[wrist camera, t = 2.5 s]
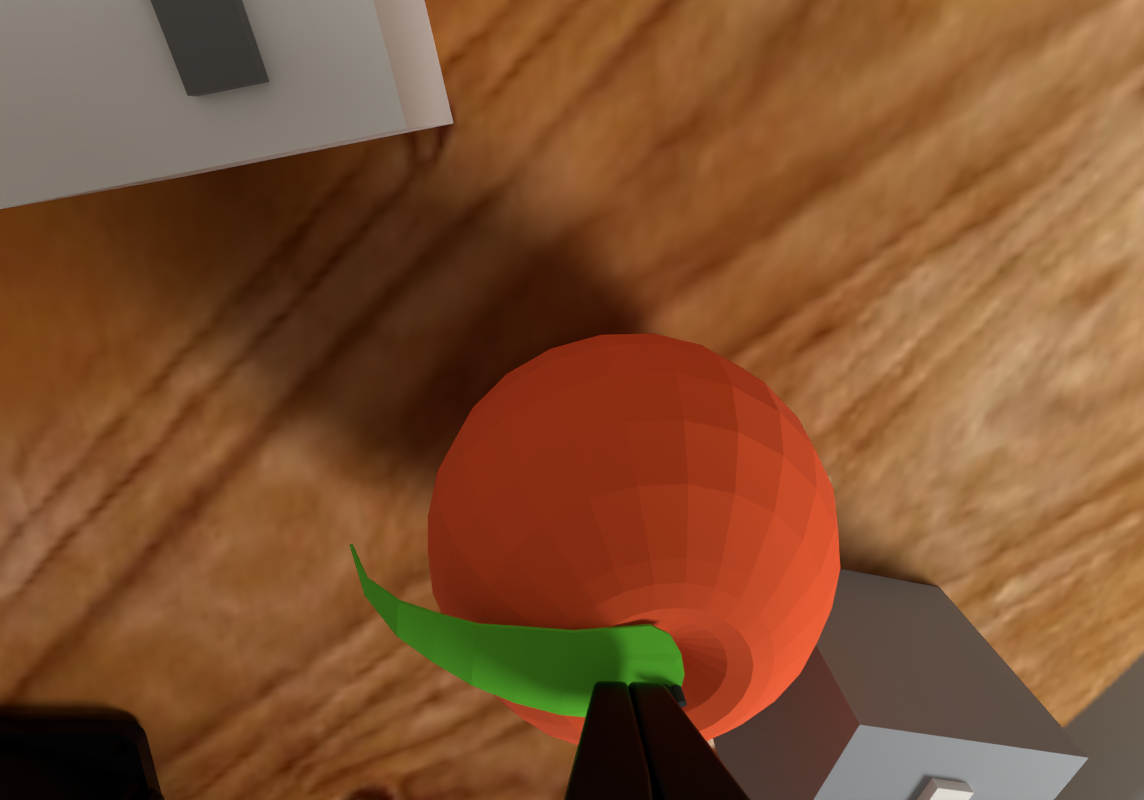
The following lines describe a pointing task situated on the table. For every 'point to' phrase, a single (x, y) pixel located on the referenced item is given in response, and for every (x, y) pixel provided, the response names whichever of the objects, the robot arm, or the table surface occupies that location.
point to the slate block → (901, 711)
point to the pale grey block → (201, 86)
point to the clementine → (626, 537)
